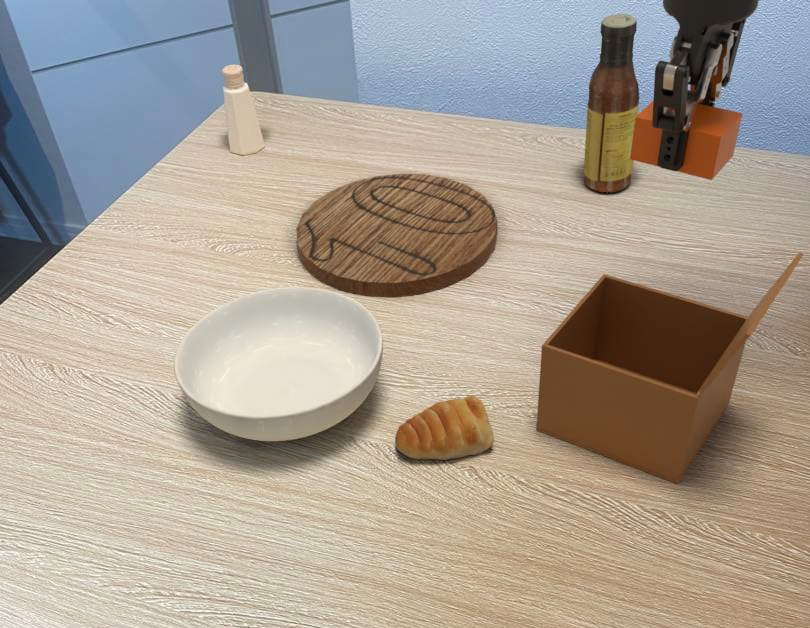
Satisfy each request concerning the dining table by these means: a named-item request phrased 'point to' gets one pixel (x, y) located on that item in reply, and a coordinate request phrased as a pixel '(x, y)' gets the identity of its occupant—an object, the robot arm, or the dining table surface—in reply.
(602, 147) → the sauce bottle
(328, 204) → the trivet
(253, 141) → the pepper shaker
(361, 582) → the dining table surface
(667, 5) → the robot arm
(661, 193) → the dining table surface
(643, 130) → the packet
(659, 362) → the carton
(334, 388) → the serving bowl
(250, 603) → the dining table surface
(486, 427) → the pastry
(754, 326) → the flap
